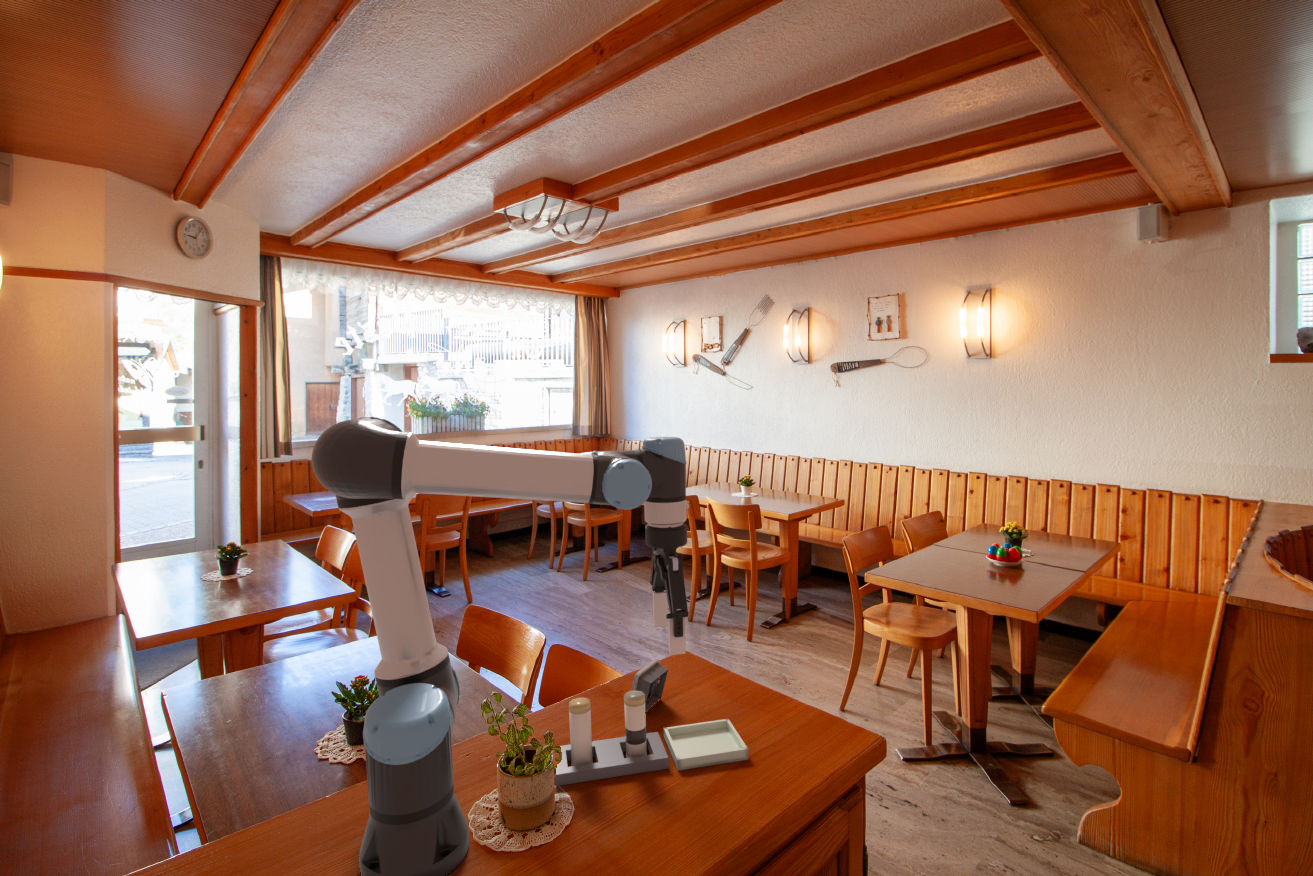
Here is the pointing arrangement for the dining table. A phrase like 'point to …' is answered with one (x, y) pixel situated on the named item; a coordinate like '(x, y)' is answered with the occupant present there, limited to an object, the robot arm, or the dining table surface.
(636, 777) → the dining table surface
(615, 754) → the fuse block
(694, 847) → the dining table surface
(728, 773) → the dining table surface
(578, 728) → the fuse
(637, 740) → the fuse
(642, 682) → the electrical switch
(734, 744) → the parts tray
